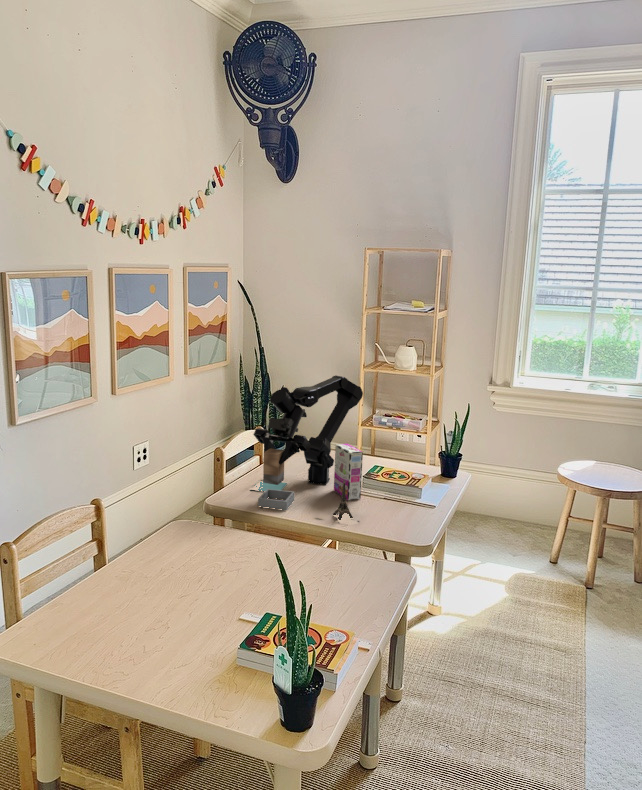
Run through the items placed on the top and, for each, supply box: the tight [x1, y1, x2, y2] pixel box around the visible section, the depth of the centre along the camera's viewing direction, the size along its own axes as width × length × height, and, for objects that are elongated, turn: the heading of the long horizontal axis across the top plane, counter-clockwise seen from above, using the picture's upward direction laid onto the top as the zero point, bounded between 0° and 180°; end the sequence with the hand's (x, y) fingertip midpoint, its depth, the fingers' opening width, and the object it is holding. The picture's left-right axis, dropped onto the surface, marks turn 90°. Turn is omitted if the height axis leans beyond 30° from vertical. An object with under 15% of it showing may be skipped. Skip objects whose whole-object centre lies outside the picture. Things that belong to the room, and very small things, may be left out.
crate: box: [257, 489, 296, 511], centre depth 209 cm, size 9×9×3 cm
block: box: [262, 448, 285, 485], centre depth 209 cm, size 5×5×10 cm
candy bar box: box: [333, 443, 364, 502], centre depth 218 cm, size 11×5×16 cm, turn 25°
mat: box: [254, 481, 288, 491], centre depth 225 cm, size 10×10×1 cm
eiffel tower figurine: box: [332, 477, 354, 520], centre depth 199 cm, size 15×10×13 cm
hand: (271, 462), depth 208 cm, fingers closed on block, 5 cm apart
